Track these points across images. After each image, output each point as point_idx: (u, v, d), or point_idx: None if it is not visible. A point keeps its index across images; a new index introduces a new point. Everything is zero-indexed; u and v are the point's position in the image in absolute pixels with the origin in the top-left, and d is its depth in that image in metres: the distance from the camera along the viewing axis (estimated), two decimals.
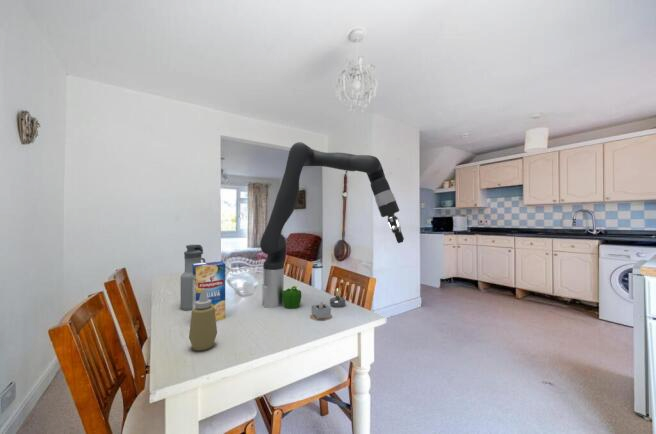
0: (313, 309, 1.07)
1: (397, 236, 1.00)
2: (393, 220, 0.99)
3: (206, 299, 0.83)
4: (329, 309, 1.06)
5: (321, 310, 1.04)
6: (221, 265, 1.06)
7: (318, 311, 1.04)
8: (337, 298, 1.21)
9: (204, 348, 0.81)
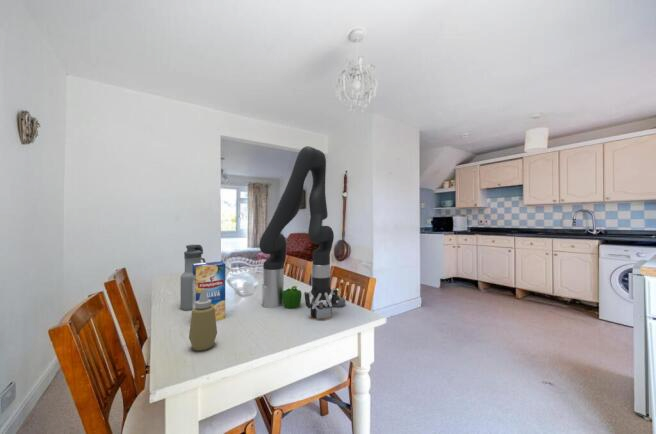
0: None
1: (310, 311, 1.06)
2: (306, 297, 1.04)
3: (206, 299, 0.83)
4: (329, 309, 1.06)
5: (321, 310, 1.04)
6: (221, 265, 1.06)
7: (318, 311, 1.04)
8: (337, 298, 1.21)
9: (204, 348, 0.81)
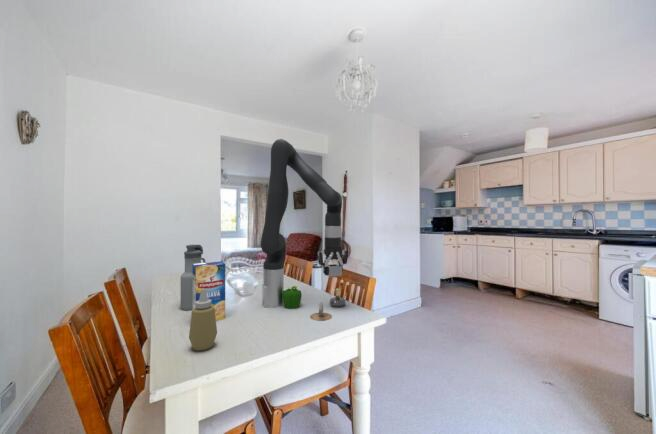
0: None
1: (323, 269, 1.15)
2: (319, 255, 1.13)
3: (206, 299, 0.83)
4: (340, 267, 1.14)
5: (333, 267, 1.13)
6: (221, 265, 1.06)
7: (330, 268, 1.13)
8: (337, 298, 1.21)
9: (204, 348, 0.81)
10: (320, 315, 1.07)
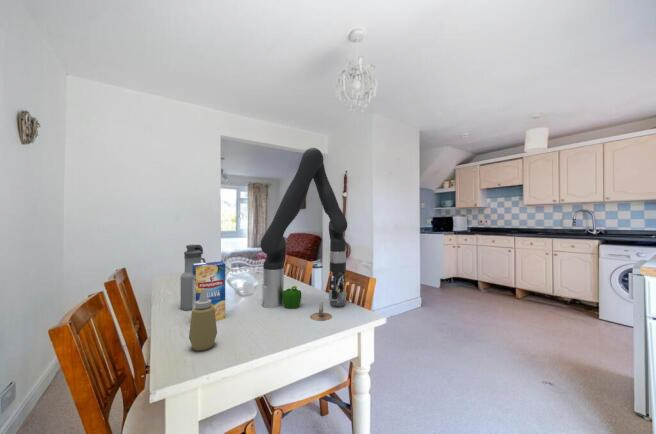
0: None
1: (332, 293, 1.17)
2: (333, 280, 1.15)
3: (206, 299, 0.83)
4: (345, 291, 1.23)
5: (343, 293, 1.19)
6: (221, 265, 1.06)
7: (342, 294, 1.18)
8: None
9: (204, 348, 0.81)
10: (320, 315, 1.07)
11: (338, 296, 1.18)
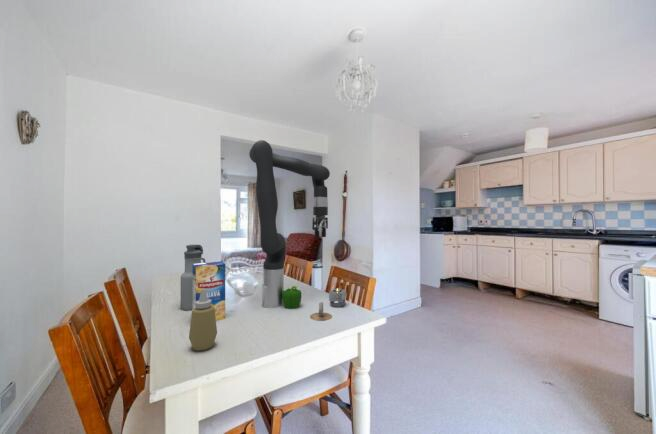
0: (333, 294, 1.19)
1: (315, 233, 1.31)
2: (315, 220, 1.30)
3: (206, 299, 0.83)
4: (345, 291, 1.23)
5: (343, 293, 1.19)
6: (221, 265, 1.06)
7: (342, 294, 1.18)
8: None
9: (204, 348, 0.81)
10: (320, 315, 1.07)
11: (338, 296, 1.18)
